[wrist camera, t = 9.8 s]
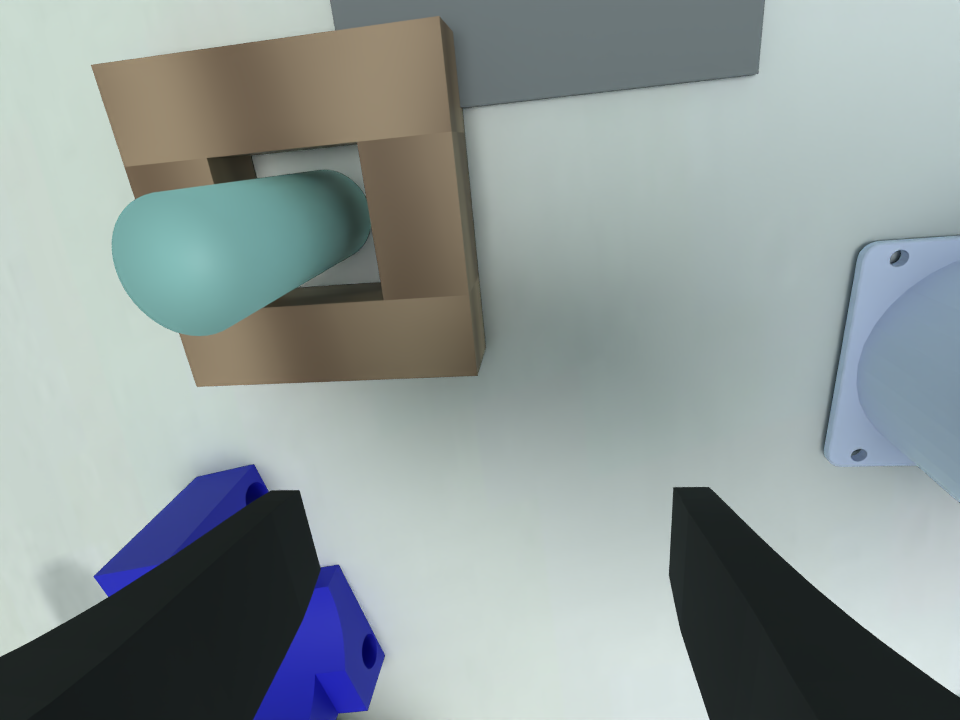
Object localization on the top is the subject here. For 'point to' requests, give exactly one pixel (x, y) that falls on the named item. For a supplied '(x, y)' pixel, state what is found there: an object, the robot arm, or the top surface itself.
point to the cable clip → (327, 622)
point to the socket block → (387, 180)
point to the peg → (234, 245)
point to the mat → (579, 42)
